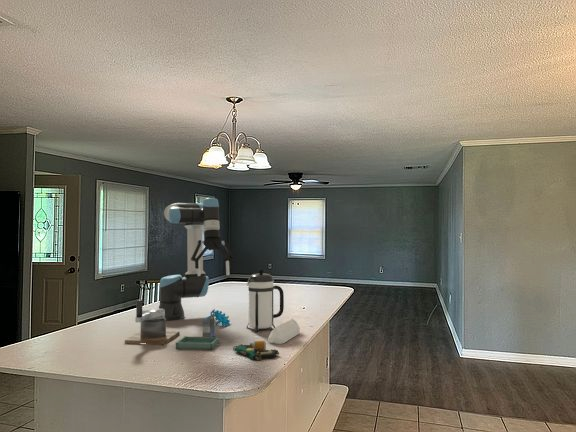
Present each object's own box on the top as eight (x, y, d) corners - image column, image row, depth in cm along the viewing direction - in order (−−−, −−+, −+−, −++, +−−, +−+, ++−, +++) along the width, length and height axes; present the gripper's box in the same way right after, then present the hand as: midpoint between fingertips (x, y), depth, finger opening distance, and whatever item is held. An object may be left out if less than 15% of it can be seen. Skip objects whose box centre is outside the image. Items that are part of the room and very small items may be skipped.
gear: (222, 325, 216) (212, 309, 221) (214, 332, 218) (205, 317, 222) (235, 324, 226) (225, 309, 230) (227, 331, 227) (218, 316, 232)
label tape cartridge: (206, 334, 204) (206, 308, 204) (214, 334, 204) (214, 308, 204) (202, 339, 195) (202, 312, 196) (210, 339, 195) (210, 312, 195)
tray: (184, 342, 191) (184, 336, 191) (219, 343, 189) (219, 337, 189) (175, 348, 180) (175, 342, 181) (212, 350, 179) (212, 344, 179)
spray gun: (281, 360, 168) (244, 367, 162) (266, 347, 183) (231, 352, 177) (281, 349, 168) (244, 355, 162) (266, 337, 183) (231, 342, 177)
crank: (147, 316, 202) (147, 293, 203) (168, 317, 201) (168, 293, 201) (126, 326, 182) (126, 300, 182) (148, 327, 181) (149, 301, 181)
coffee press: (271, 334, 205) (271, 270, 206) (240, 331, 211) (240, 269, 211) (284, 326, 221) (284, 267, 222) (255, 323, 227) (255, 266, 228)
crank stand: (143, 333, 207) (143, 315, 207) (179, 334, 204) (179, 316, 205) (124, 343, 189) (124, 323, 189) (164, 344, 187) (164, 325, 187)
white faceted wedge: (285, 337, 185) (305, 325, 207) (272, 327, 187) (293, 316, 209) (277, 351, 186) (297, 338, 208) (264, 341, 189) (286, 329, 211)
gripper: (187, 228, 196) (188, 275, 192) (239, 229, 207) (242, 273, 202) (183, 231, 203) (184, 277, 198) (234, 232, 214) (236, 275, 209)
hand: (213, 275), depth 200 cm, fingers open, 13 cm apart
